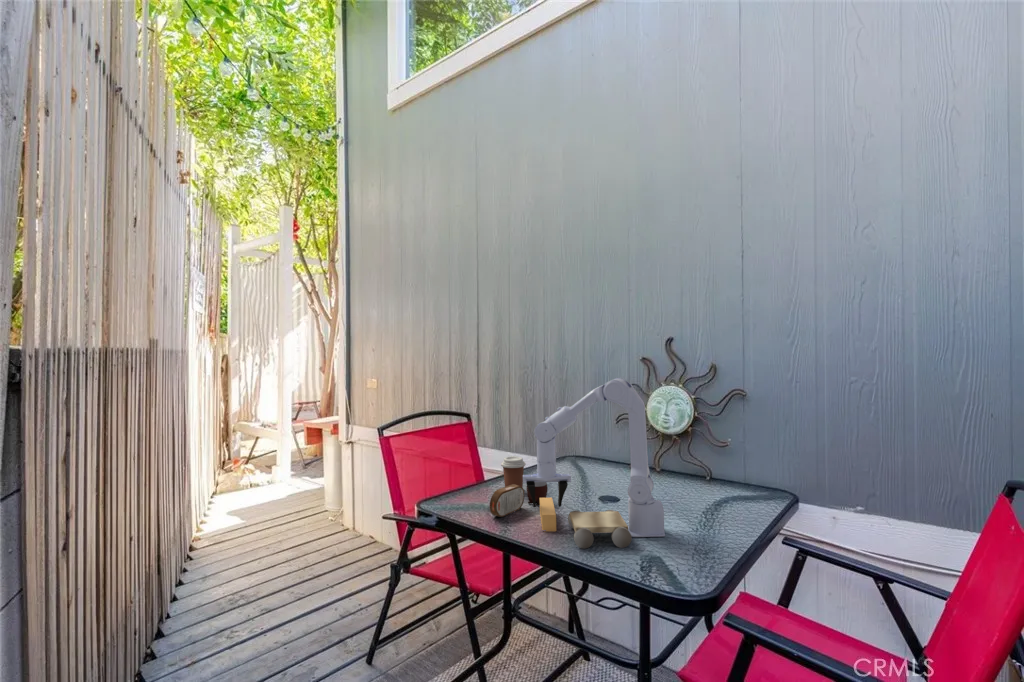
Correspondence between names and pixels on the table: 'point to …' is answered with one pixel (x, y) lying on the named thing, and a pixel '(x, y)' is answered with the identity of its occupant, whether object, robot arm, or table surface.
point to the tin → (506, 500)
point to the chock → (547, 514)
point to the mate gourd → (538, 492)
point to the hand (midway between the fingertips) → (547, 505)
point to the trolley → (599, 527)
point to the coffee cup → (513, 470)
